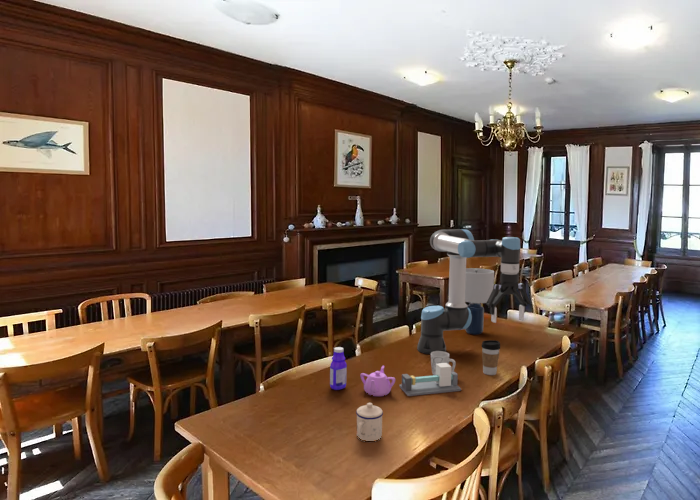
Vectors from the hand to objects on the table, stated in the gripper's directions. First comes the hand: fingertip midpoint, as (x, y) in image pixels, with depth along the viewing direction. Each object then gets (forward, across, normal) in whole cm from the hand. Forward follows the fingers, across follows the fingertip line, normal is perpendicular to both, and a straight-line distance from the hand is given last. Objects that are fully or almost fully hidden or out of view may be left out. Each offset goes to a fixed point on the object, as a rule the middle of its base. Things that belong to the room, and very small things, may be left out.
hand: (507, 321), depth 209 cm
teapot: (+28, -58, +3) cm, 65 cm away
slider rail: (+28, -35, +1) cm, 45 cm away
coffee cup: (+28, 0, +12) cm, 31 cm away
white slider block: (+26, -29, +1) cm, 39 cm away
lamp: (+28, +26, +74) cm, 83 cm away
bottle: (+28, -73, +11) cm, 79 cm away
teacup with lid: (+28, -73, -33) cm, 85 cm away
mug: (+28, -23, +14) cm, 39 cm away
